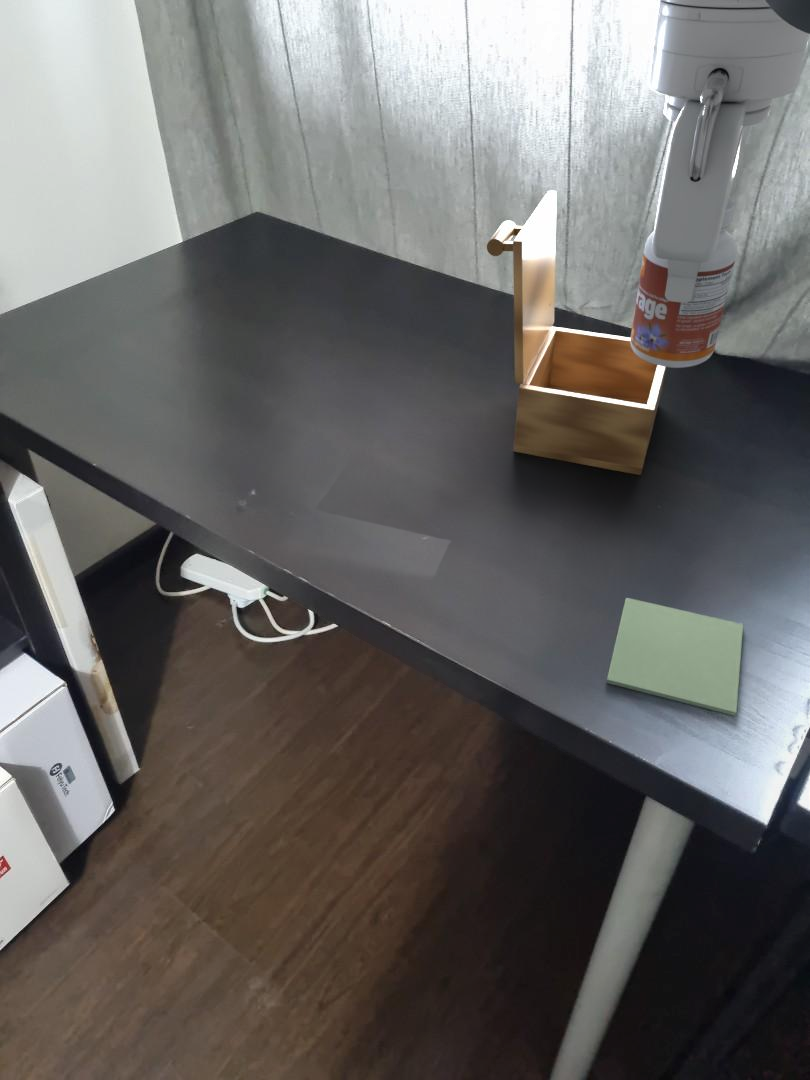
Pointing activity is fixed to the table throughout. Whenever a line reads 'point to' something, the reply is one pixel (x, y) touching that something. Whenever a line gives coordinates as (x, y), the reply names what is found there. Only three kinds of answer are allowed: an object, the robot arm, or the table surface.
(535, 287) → the chest lid
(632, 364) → the chest
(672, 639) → the mat
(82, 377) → the table surface
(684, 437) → the table surface
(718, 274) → the pill bottle
